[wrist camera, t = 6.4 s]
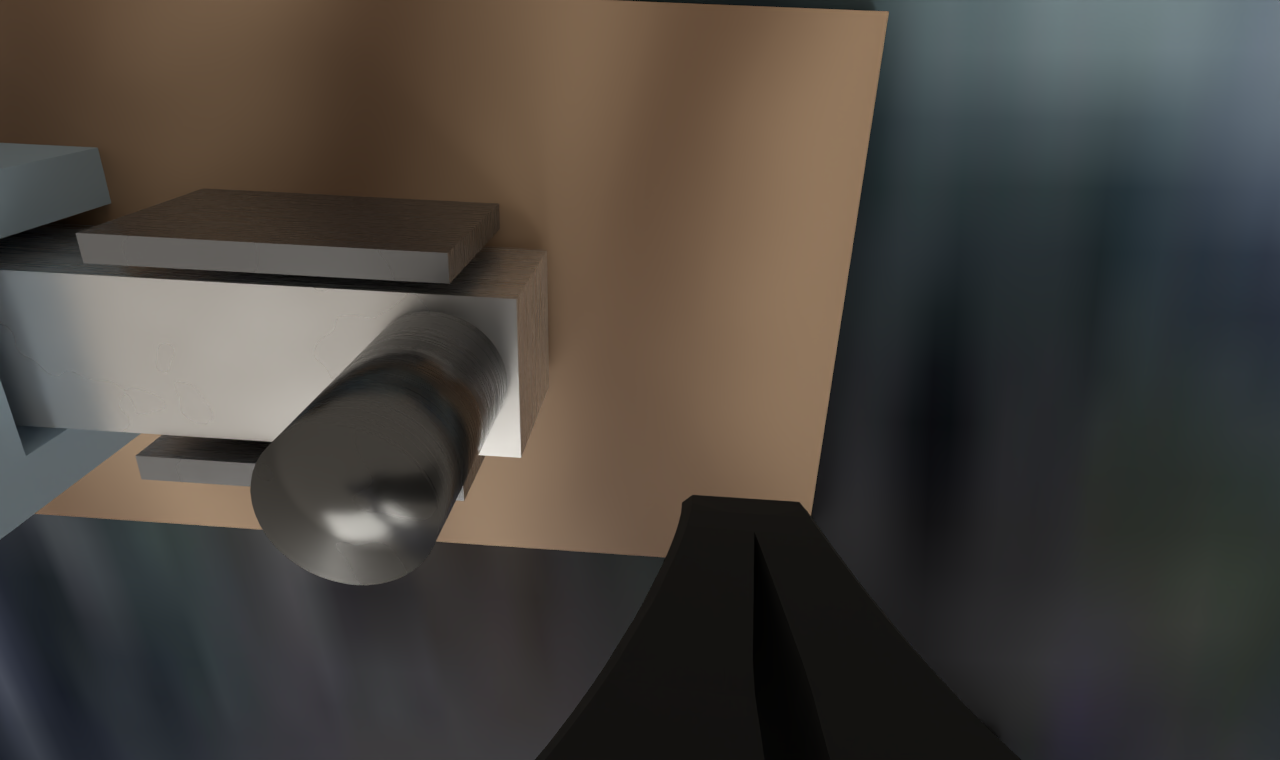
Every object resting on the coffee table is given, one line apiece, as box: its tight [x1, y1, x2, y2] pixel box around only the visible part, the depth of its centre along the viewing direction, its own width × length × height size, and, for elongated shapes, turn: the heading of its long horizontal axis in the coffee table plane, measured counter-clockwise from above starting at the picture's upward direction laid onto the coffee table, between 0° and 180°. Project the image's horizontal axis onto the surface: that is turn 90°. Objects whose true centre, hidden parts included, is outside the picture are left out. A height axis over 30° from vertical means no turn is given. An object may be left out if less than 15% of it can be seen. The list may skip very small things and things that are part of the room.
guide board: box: [0, 0, 889, 557], centre depth 17 cm, size 20×12×1 cm, turn 88°
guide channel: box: [76, 188, 500, 501], centre depth 15 cm, size 6×5×4 cm
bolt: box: [0, 223, 549, 585], centre depth 13 cm, size 12×3×7 cm, turn 88°
